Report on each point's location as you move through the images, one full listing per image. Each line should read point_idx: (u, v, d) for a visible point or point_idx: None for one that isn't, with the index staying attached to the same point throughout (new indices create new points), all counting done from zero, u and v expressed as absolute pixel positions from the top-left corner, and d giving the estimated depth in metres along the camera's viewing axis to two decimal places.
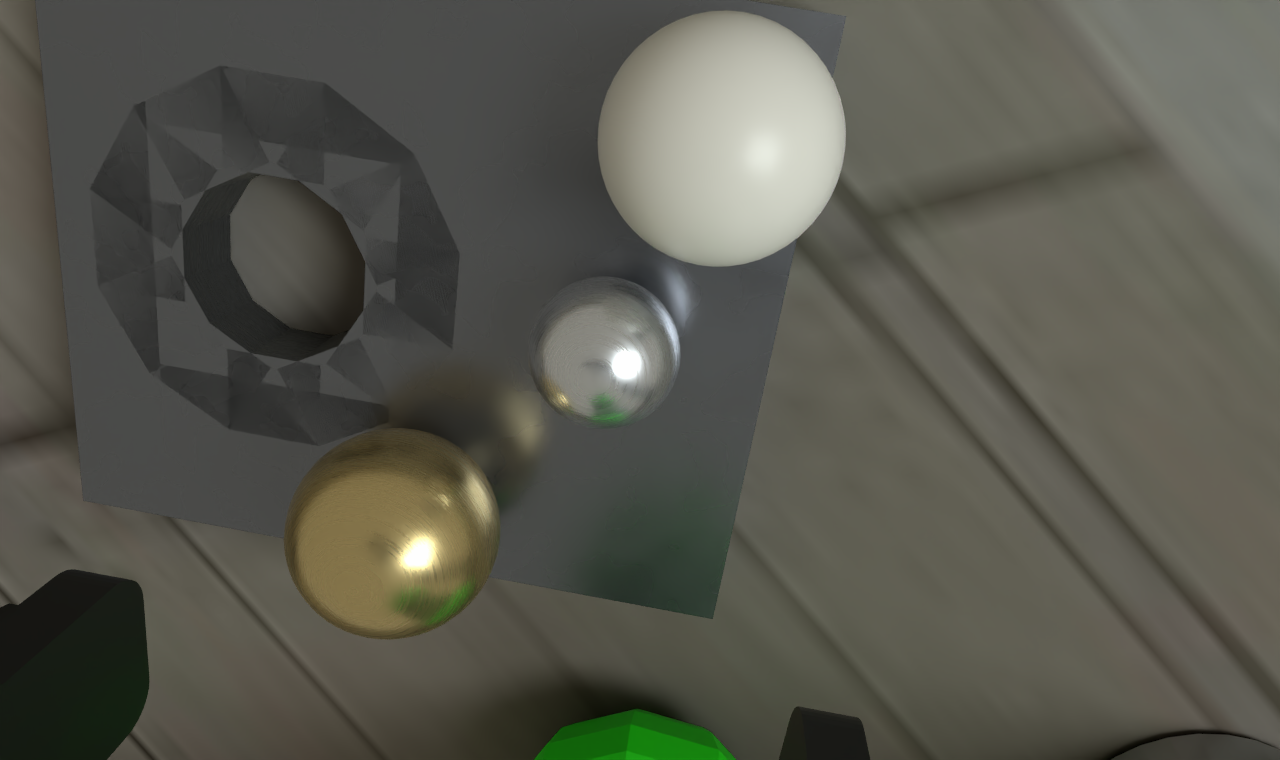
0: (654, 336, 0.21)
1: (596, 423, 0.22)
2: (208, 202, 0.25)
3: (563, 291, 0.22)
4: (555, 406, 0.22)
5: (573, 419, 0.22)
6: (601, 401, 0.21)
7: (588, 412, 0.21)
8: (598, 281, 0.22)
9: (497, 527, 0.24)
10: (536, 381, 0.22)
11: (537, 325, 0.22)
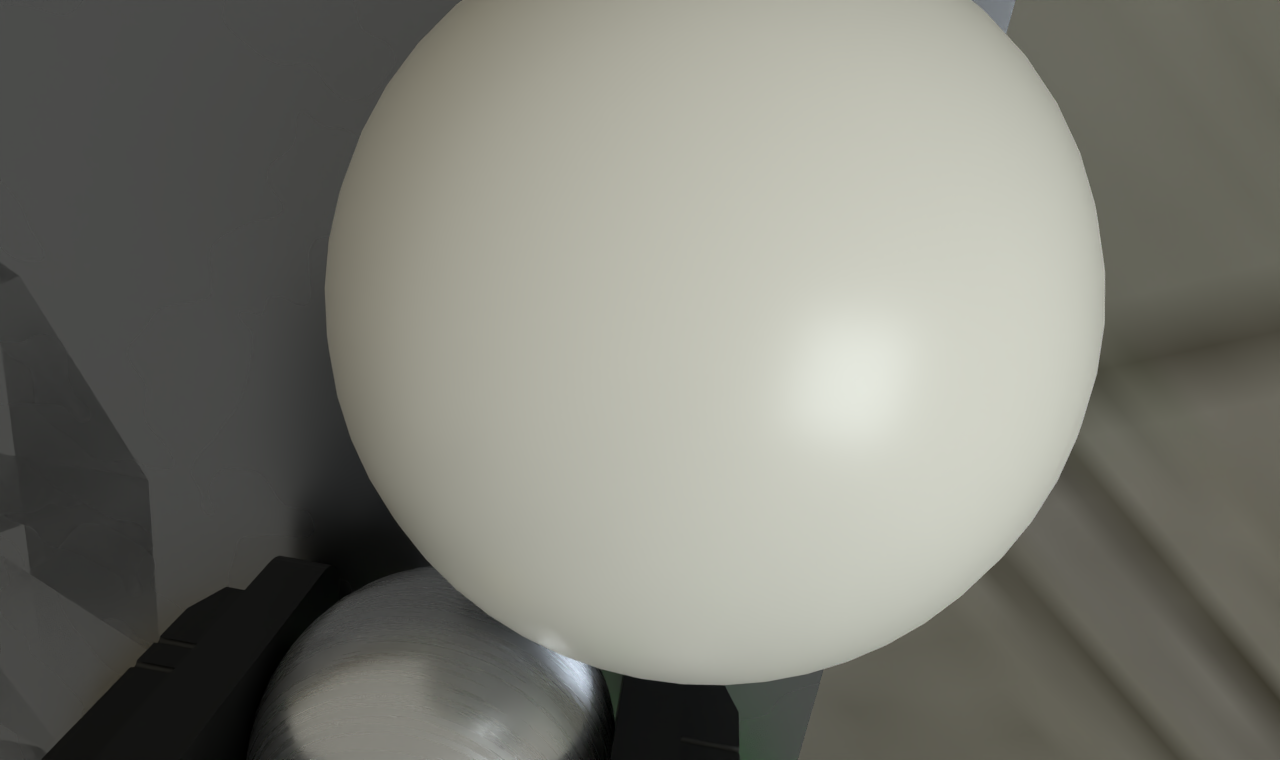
0: None
1: None
2: None
3: (325, 630, 0.09)
4: None
5: None
6: None
7: None
8: (406, 613, 0.09)
9: None
10: None
11: (257, 719, 0.09)
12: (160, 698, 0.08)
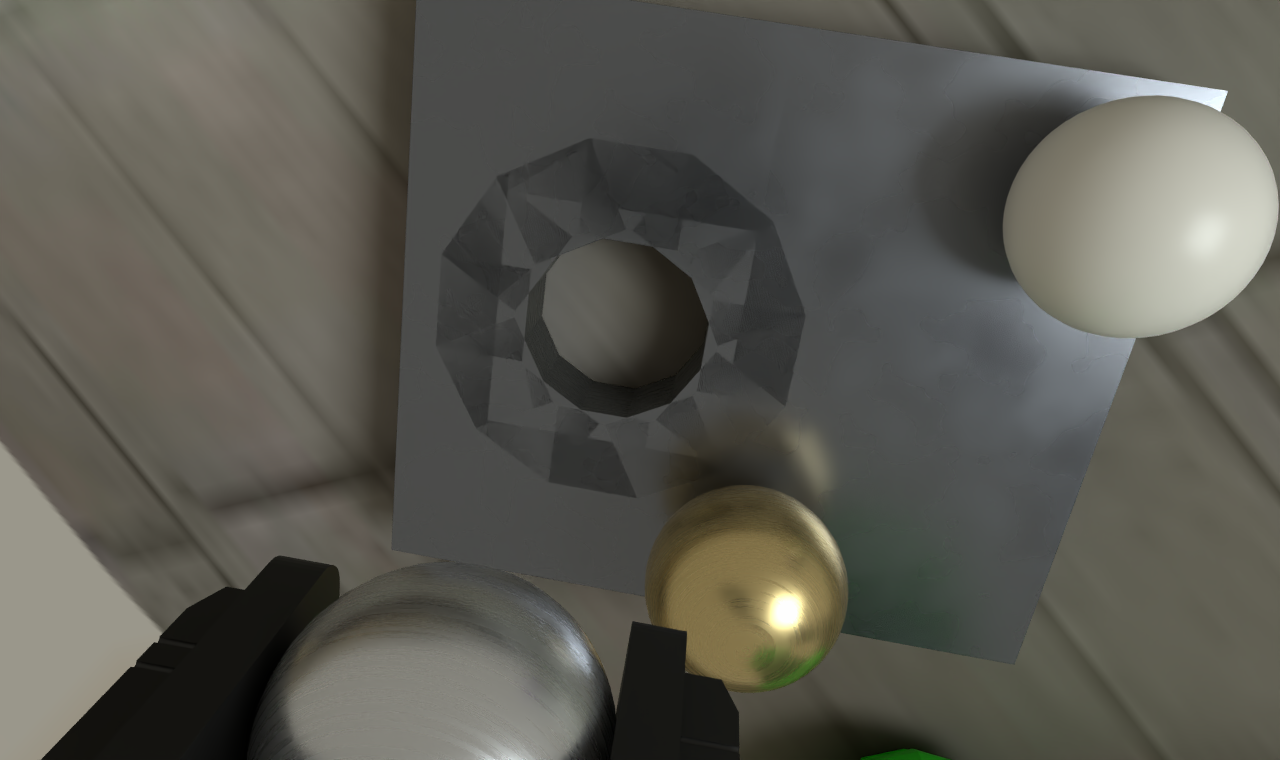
0: None
1: None
2: (550, 265, 0.26)
3: (326, 626, 0.09)
4: None
5: None
6: None
7: None
8: (408, 609, 0.09)
9: None
10: None
11: (258, 716, 0.09)
12: (160, 698, 0.08)
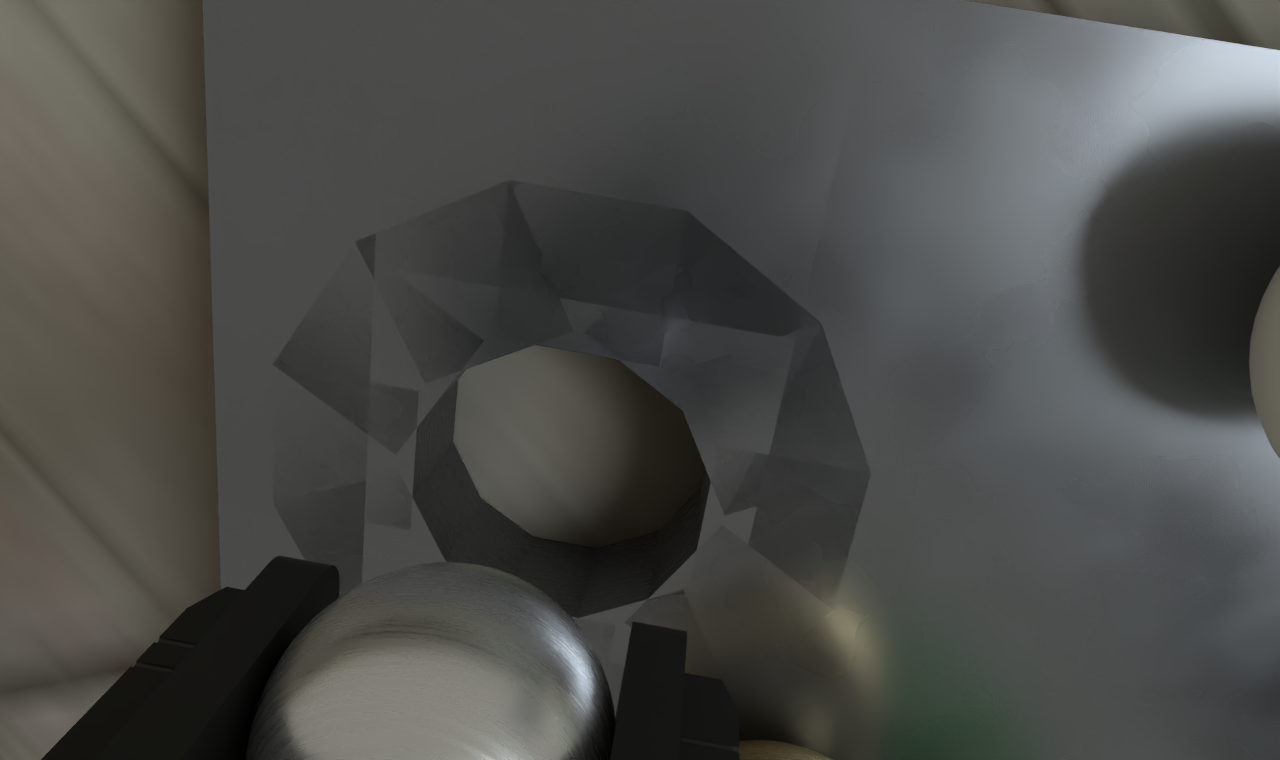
0: None
1: None
2: (453, 381, 0.16)
3: (324, 627, 0.09)
4: None
5: None
6: None
7: None
8: (406, 608, 0.09)
9: None
10: None
11: (257, 716, 0.09)
12: (160, 698, 0.08)
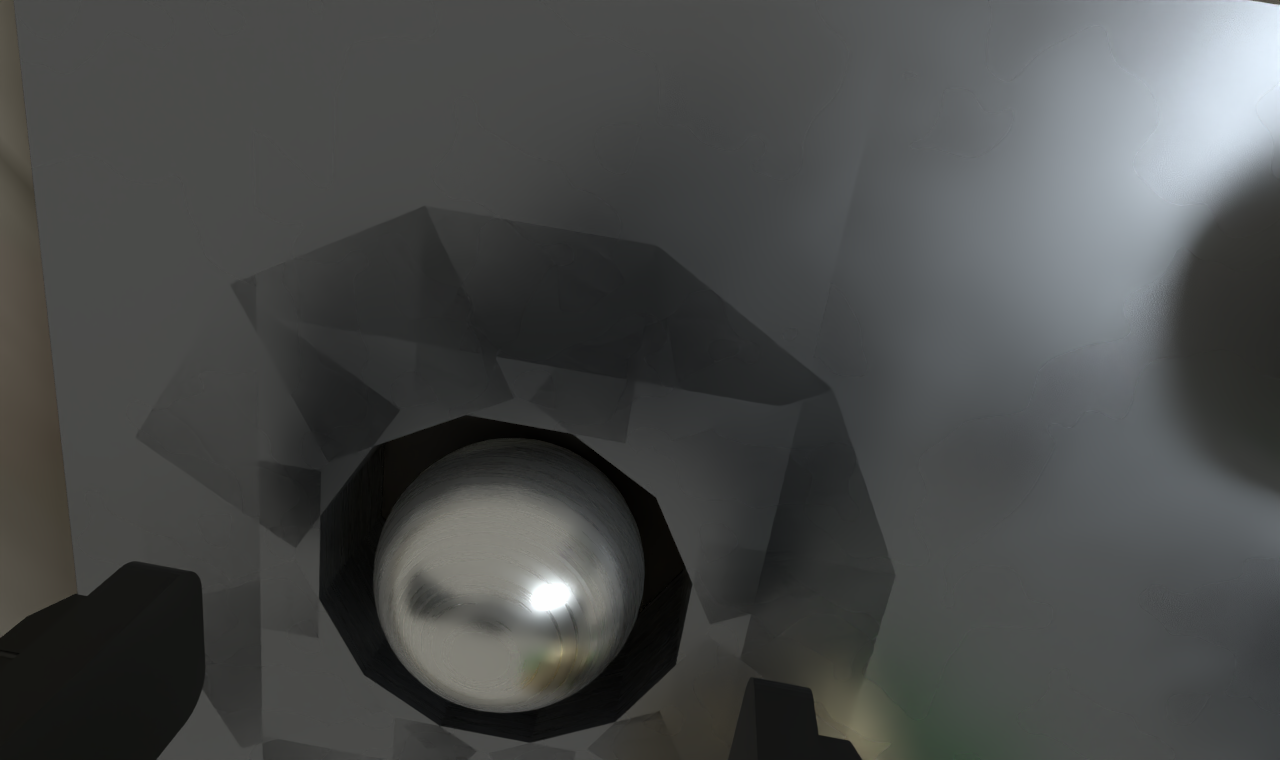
0: (592, 568, 0.11)
1: None
2: (368, 454, 0.13)
3: (432, 474, 0.12)
4: (418, 680, 0.12)
5: (452, 701, 0.12)
6: (495, 690, 0.11)
7: (475, 702, 0.12)
8: (493, 459, 0.12)
9: None
10: (385, 635, 0.12)
11: (384, 538, 0.12)
12: None
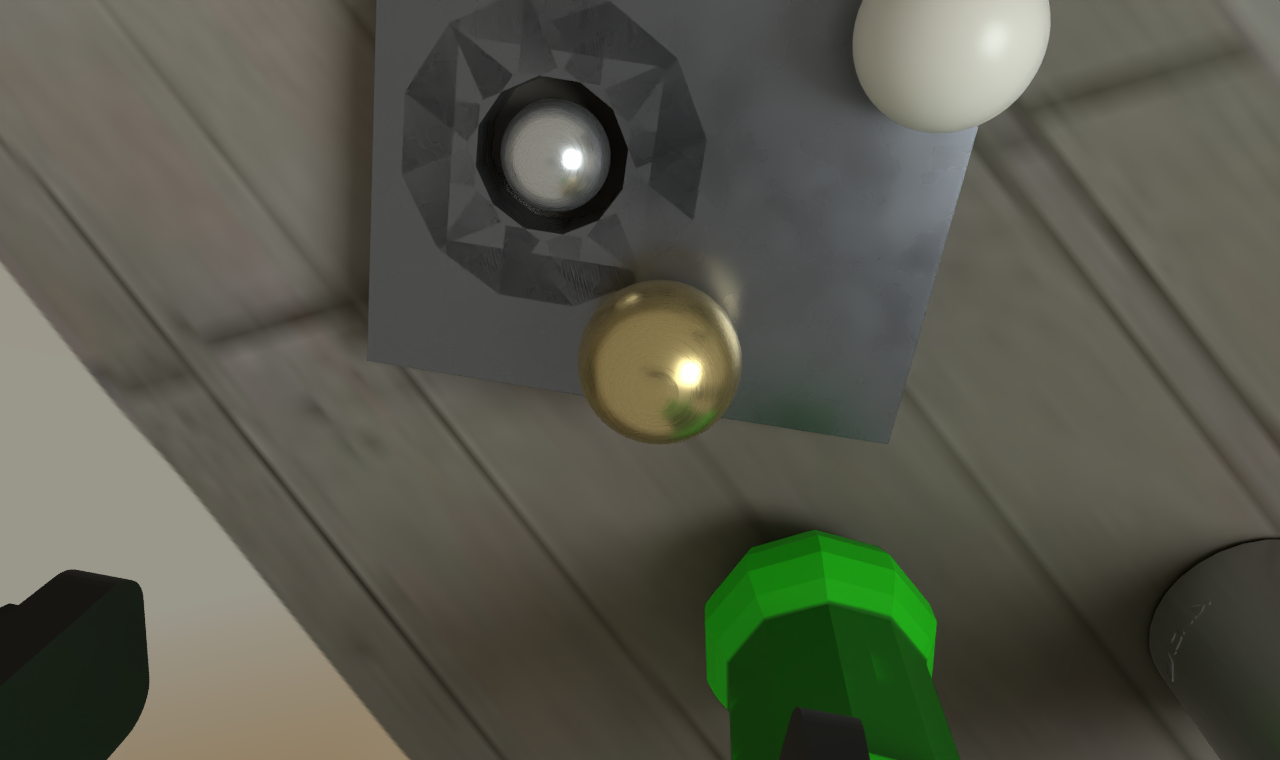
0: (590, 135, 0.30)
1: (551, 202, 0.31)
2: (496, 103, 0.31)
3: (524, 107, 0.30)
4: (521, 190, 0.31)
5: (534, 200, 0.31)
6: (554, 181, 0.30)
7: (545, 191, 0.30)
8: (549, 99, 0.30)
9: None
10: (507, 173, 0.31)
11: (506, 131, 0.30)
12: None
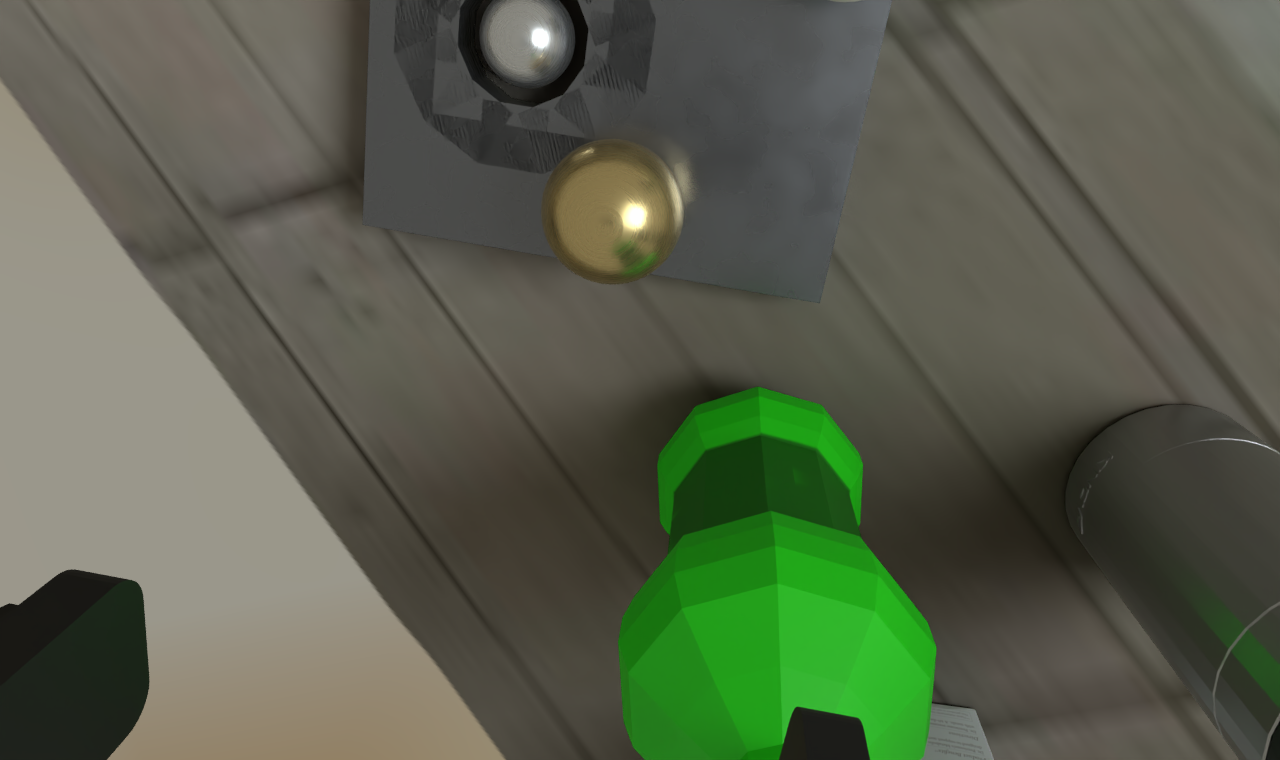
0: (555, 15, 0.35)
1: (522, 75, 0.35)
2: None
3: None
4: (496, 65, 0.35)
5: (508, 74, 0.35)
6: (524, 54, 0.35)
7: (517, 64, 0.35)
8: None
9: (683, 208, 0.35)
10: (484, 50, 0.35)
11: (484, 13, 0.35)
12: None
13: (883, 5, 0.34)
